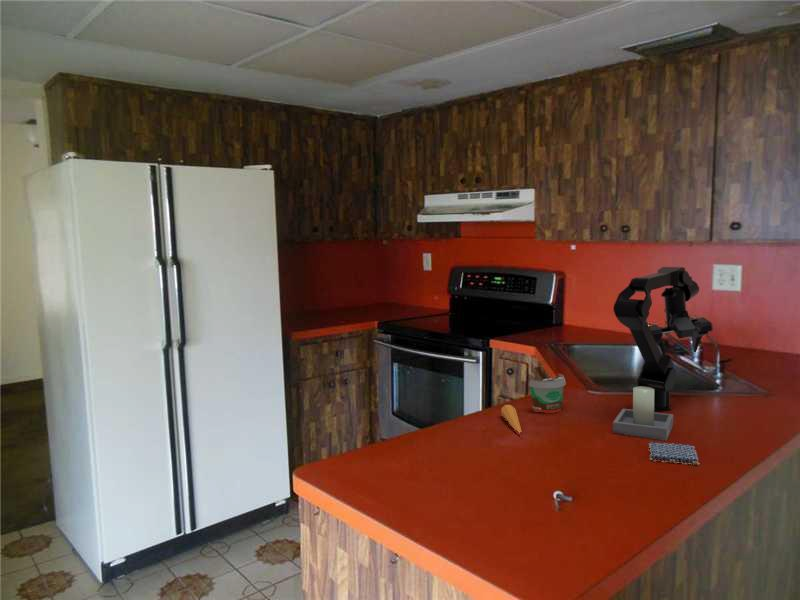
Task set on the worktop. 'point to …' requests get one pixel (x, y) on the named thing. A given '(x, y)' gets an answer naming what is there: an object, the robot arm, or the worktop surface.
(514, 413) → the carrot
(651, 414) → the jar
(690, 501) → the worktop surface
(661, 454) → the woven mat
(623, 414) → the tray
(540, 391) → the food container
